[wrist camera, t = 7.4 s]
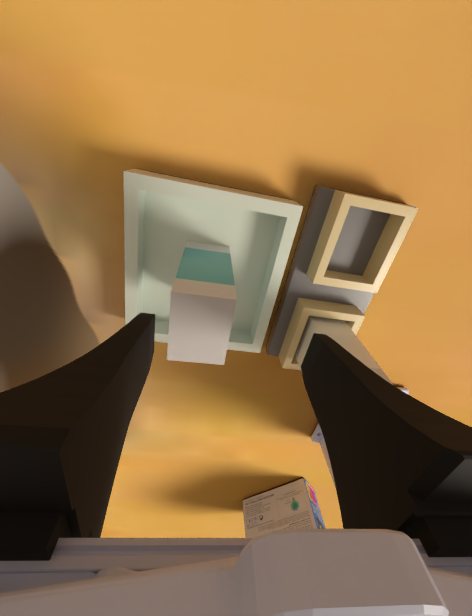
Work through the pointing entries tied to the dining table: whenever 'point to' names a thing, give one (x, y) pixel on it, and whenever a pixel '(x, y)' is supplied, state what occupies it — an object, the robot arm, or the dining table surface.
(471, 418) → the dining table surface
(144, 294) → the tray
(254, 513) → the ink cartridge box
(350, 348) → the block
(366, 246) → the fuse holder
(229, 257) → the block
